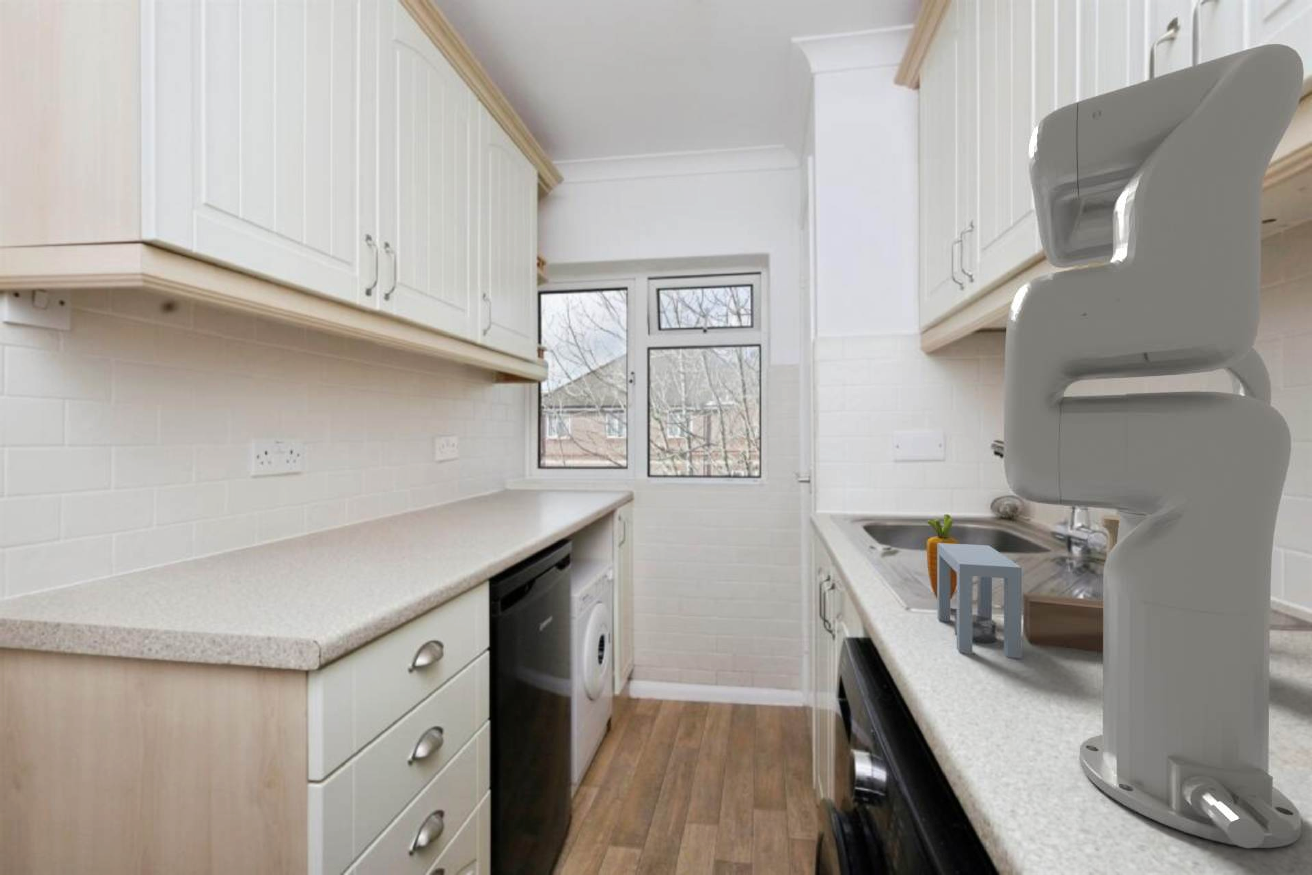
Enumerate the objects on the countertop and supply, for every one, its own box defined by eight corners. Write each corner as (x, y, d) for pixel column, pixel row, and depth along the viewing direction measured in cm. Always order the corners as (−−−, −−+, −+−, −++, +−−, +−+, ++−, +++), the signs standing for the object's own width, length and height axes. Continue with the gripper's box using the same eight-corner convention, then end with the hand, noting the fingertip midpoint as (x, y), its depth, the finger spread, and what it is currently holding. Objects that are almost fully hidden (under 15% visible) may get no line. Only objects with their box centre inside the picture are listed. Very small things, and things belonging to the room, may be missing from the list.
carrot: (939, 612, 88) (939, 517, 87) (919, 603, 92) (919, 513, 92) (967, 610, 88) (968, 516, 88) (946, 601, 93) (946, 512, 93)
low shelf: (1021, 658, 70) (1021, 567, 70) (959, 652, 72) (959, 563, 72) (988, 621, 83) (988, 545, 83) (937, 617, 85) (937, 542, 85)
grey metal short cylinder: (1001, 645, 74) (1001, 628, 74) (959, 642, 76) (959, 624, 76) (989, 632, 79) (989, 616, 79) (951, 629, 81) (951, 613, 81)
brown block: (1204, 667, 68) (1204, 618, 68) (1029, 645, 75) (1029, 600, 75) (1188, 654, 71) (1188, 608, 71) (1023, 635, 78) (1023, 592, 78)
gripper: (1239, 516, 62) (1237, 668, 62) (1150, 498, 79) (1149, 618, 79) (1157, 514, 64) (1156, 661, 64) (1088, 496, 81) (1087, 613, 81)
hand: (1153, 637), depth 72 cm, fingers open, 9 cm apart
